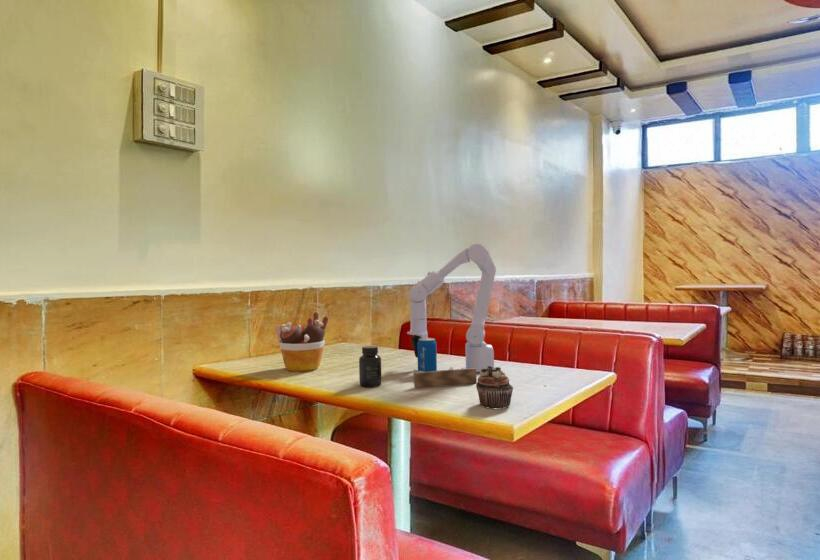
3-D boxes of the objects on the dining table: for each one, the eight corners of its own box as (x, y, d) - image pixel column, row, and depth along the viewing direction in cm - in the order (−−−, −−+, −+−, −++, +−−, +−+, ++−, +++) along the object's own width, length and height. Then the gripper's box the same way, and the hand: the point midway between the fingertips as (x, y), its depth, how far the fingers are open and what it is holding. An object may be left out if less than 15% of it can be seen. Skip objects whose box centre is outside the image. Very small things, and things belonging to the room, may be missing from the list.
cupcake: (509, 411, 138) (509, 371, 138) (472, 407, 142) (471, 369, 141) (516, 401, 147) (516, 365, 147) (481, 399, 151) (481, 363, 150)
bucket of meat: (303, 375, 185) (302, 317, 185) (266, 371, 193) (265, 315, 192) (338, 365, 203) (337, 312, 202) (303, 362, 211) (302, 311, 210)
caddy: (461, 375, 183) (460, 361, 182) (476, 383, 170) (476, 368, 170) (403, 379, 177) (403, 365, 177) (415, 388, 165) (415, 373, 165)
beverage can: (414, 375, 184) (414, 339, 184) (423, 371, 190) (422, 337, 189) (431, 376, 181) (431, 340, 181) (439, 373, 187) (439, 338, 186)
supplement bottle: (359, 383, 173) (359, 345, 172) (381, 382, 173) (380, 345, 173) (359, 388, 166) (358, 348, 165) (381, 387, 166) (381, 348, 166)
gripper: (402, 317, 199) (402, 354, 200) (413, 321, 185) (414, 361, 186) (420, 316, 201) (420, 353, 202) (433, 320, 187) (433, 360, 188)
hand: (418, 357), depth 194 cm, fingers closed
